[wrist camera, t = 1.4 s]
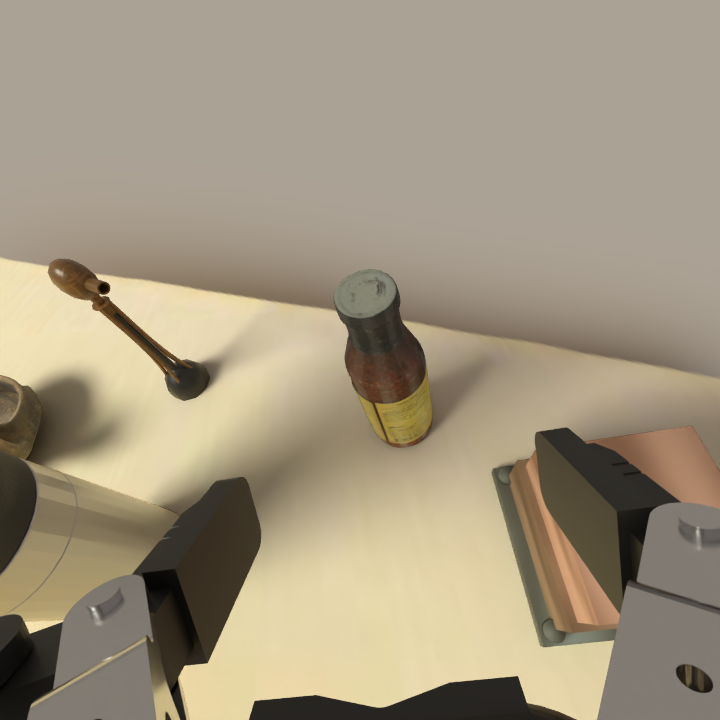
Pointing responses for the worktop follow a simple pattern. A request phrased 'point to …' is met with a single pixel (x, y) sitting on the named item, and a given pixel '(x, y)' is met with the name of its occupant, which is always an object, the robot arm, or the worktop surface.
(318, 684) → the worktop surface
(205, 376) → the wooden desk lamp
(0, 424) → the bowl
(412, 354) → the sauce bottle
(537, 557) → the copper and grey block
